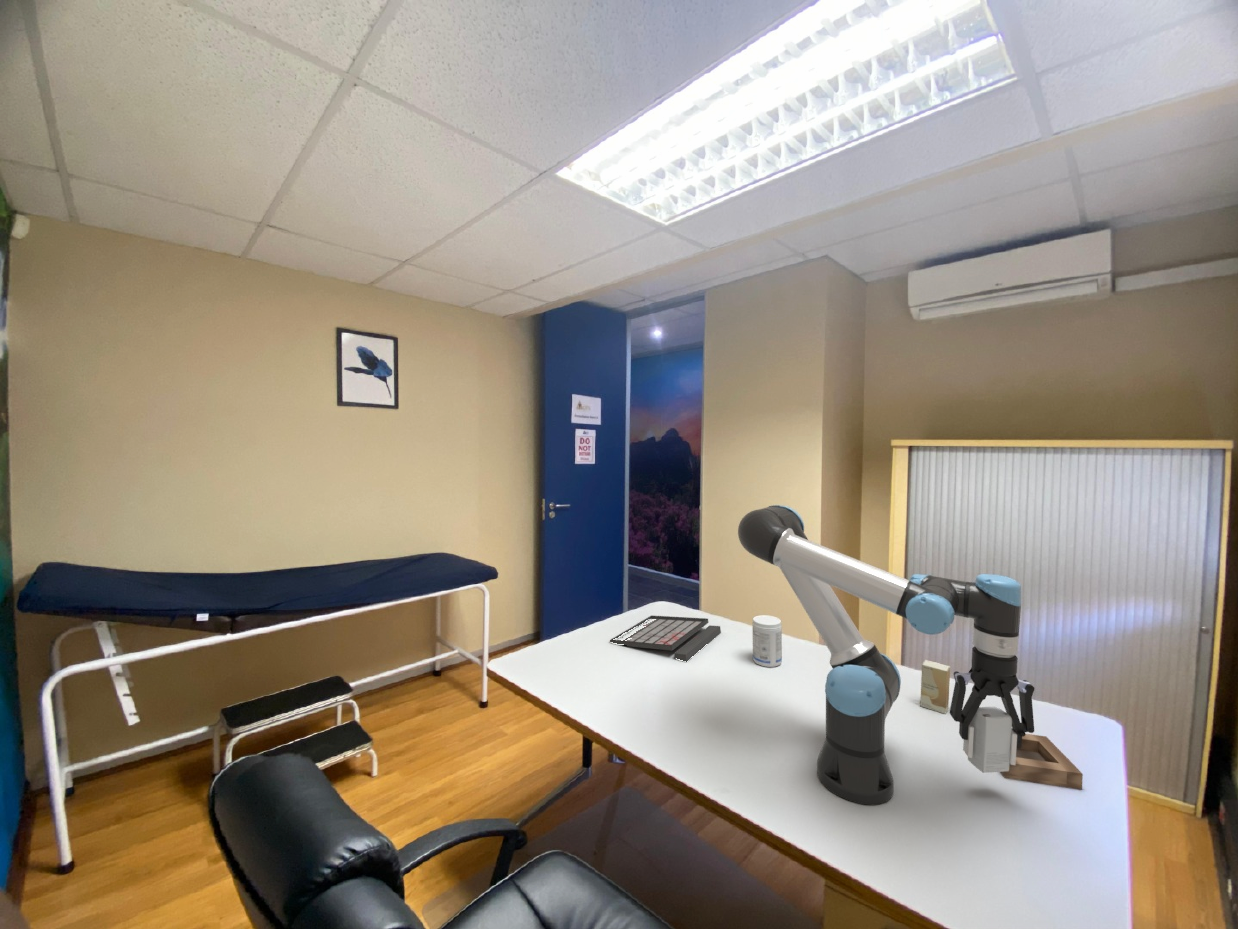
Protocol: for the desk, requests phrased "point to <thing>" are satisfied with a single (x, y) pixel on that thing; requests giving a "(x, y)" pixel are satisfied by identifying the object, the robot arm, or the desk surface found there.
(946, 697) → the skincare box
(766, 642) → the supplement tub
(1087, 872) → the desk surface
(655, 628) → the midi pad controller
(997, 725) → the skincare box
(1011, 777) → the socket block
